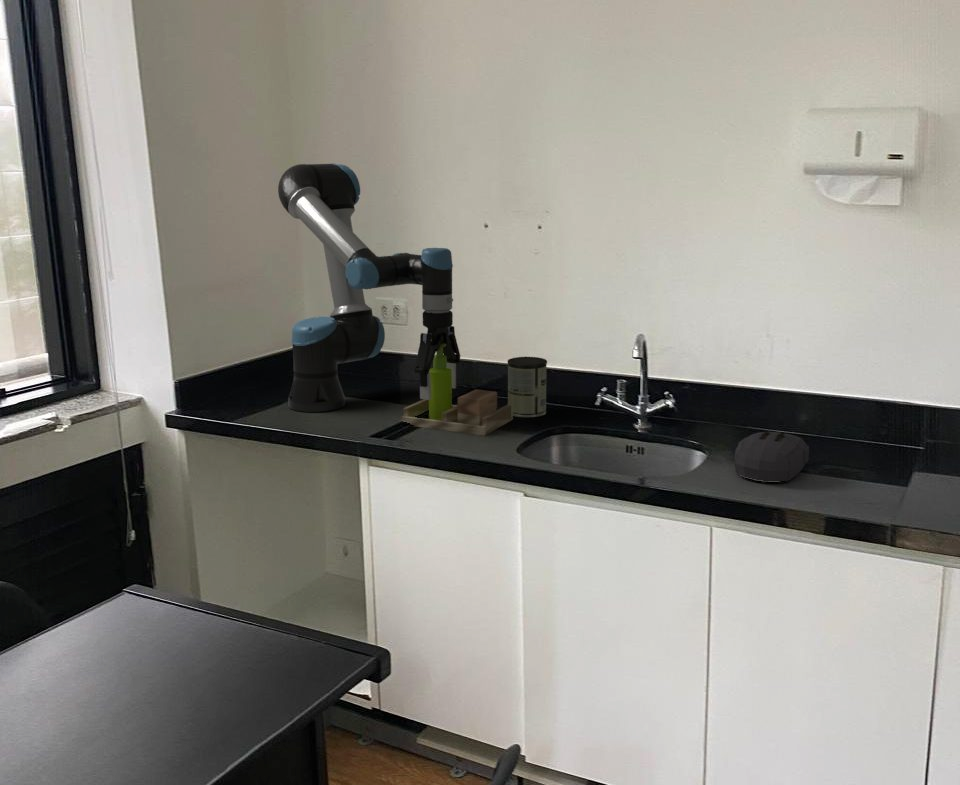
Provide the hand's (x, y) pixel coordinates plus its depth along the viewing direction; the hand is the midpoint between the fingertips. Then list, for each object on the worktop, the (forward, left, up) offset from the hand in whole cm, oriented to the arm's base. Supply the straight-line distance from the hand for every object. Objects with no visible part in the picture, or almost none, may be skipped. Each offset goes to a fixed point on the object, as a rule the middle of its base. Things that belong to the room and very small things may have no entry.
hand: (438, 393), depth 259 cm
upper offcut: (+11, 0, -3) cm, 12 cm away
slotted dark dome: (+84, -7, -7) cm, 85 cm away
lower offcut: (+11, 0, -7) cm, 13 cm away
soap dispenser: (0, 0, -7) cm, 7 cm away
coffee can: (+17, +17, -7) cm, 25 cm away
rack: (+5, 0, -7) cm, 9 cm away
